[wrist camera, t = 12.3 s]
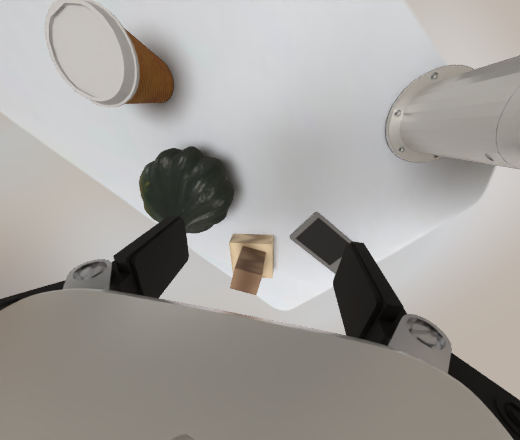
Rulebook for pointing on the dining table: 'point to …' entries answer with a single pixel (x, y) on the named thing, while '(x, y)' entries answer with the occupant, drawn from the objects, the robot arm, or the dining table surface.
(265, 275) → the oak base block
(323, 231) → the smartphone
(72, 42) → the disposable coffee cup
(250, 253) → the walnut block
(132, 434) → the robot arm
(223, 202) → the squash
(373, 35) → the dining table surface
